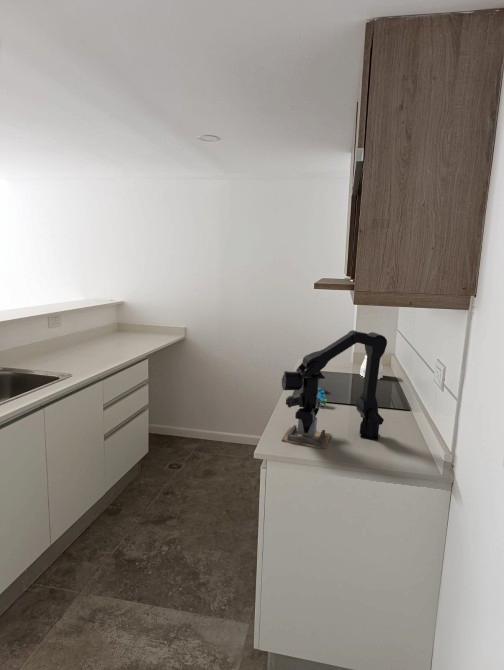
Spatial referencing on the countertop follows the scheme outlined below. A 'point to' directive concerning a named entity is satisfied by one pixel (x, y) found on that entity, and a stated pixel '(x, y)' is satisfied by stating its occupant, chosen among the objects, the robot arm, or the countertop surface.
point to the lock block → (311, 430)
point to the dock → (307, 438)
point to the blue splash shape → (322, 395)
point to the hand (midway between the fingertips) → (307, 430)
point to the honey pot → (363, 368)
